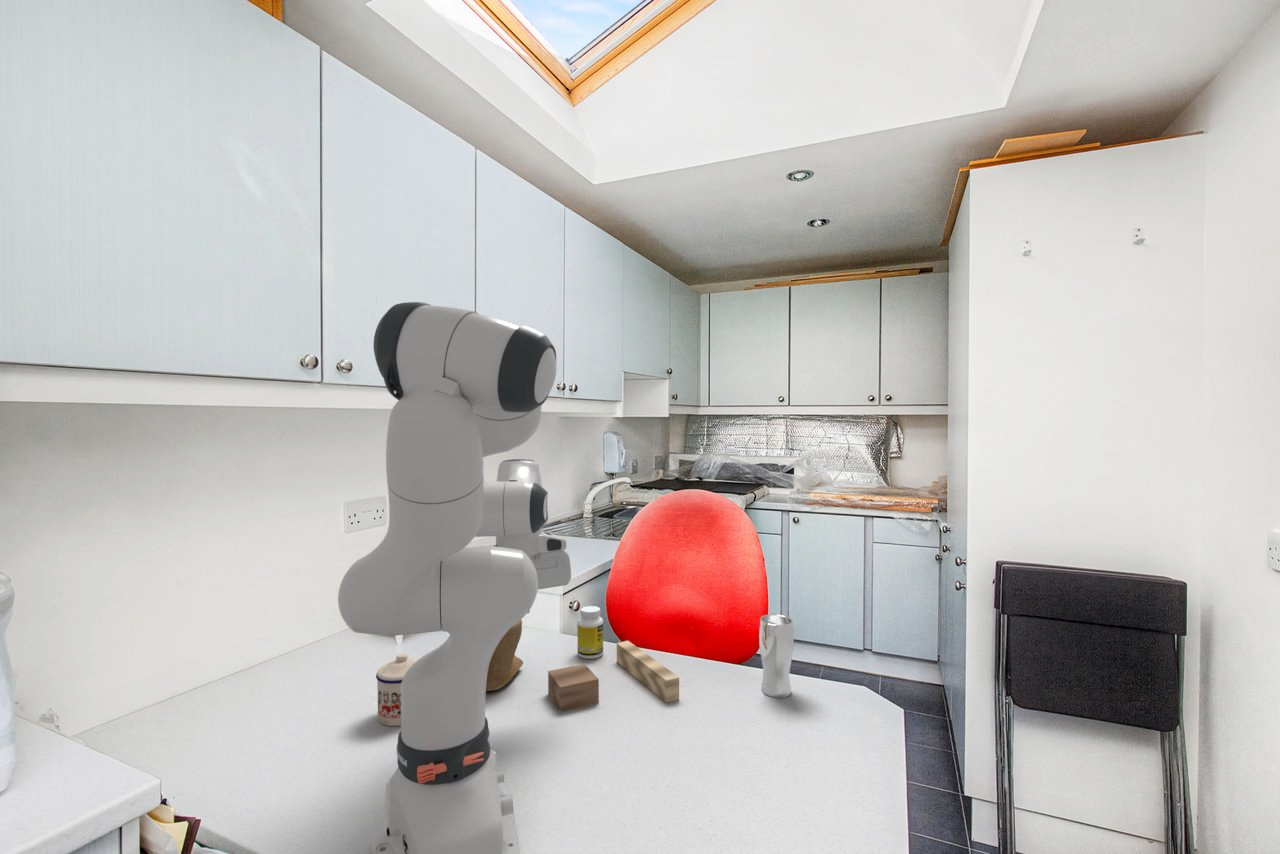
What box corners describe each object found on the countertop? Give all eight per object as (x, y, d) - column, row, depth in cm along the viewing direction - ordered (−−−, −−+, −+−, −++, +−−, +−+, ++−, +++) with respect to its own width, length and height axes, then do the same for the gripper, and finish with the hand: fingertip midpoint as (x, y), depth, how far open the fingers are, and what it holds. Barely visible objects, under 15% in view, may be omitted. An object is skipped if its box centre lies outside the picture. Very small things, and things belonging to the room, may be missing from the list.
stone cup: (507, 698, 118) (507, 625, 117) (454, 692, 120) (454, 621, 120) (537, 667, 132) (536, 602, 132) (489, 662, 135) (488, 598, 135)
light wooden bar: (679, 699, 117) (679, 677, 117) (666, 702, 116) (666, 680, 116) (628, 659, 136) (628, 640, 136) (616, 662, 135) (616, 643, 135)
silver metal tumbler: (768, 680, 126) (768, 611, 125) (799, 690, 121) (799, 618, 121) (753, 692, 120) (753, 620, 120) (784, 702, 116) (784, 628, 115)
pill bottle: (602, 660, 136) (602, 613, 136) (576, 659, 136) (575, 613, 136) (604, 649, 142) (604, 604, 142) (579, 649, 143) (579, 604, 142)
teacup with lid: (366, 725, 108) (365, 663, 107) (394, 701, 116) (393, 644, 116) (425, 731, 106) (425, 667, 105) (450, 706, 115) (449, 648, 114)
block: (598, 703, 116) (598, 679, 116) (560, 712, 112) (560, 687, 112) (584, 687, 123) (584, 663, 123) (548, 695, 120) (548, 671, 120)
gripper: (468, 552, 104) (468, 628, 104) (574, 540, 114) (574, 610, 114) (460, 545, 109) (461, 618, 110) (562, 534, 119) (562, 601, 120)
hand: (519, 614), depth 112 cm, fingers closed
